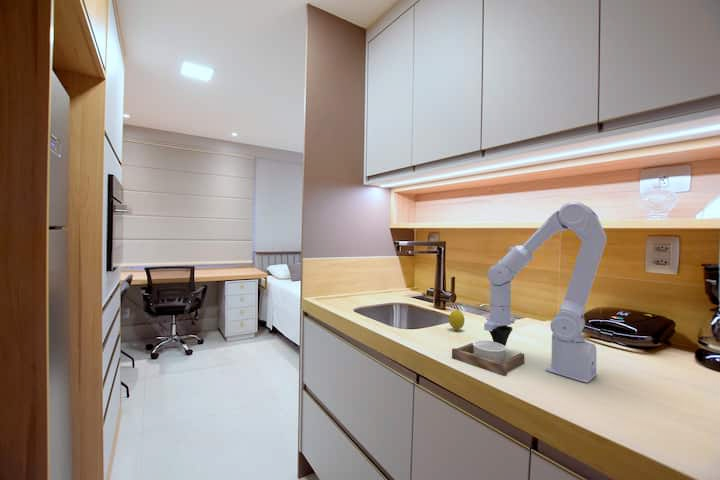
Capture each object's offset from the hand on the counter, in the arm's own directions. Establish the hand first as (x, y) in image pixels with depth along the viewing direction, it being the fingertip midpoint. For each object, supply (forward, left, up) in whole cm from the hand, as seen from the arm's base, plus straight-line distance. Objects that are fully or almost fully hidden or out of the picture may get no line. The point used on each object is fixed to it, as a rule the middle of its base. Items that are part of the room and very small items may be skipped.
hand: (499, 350), depth 95 cm
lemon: (+23, -12, -2) cm, 26 cm away
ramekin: (0, +6, -2) cm, 6 cm away
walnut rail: (0, +6, -1) cm, 6 cm away
